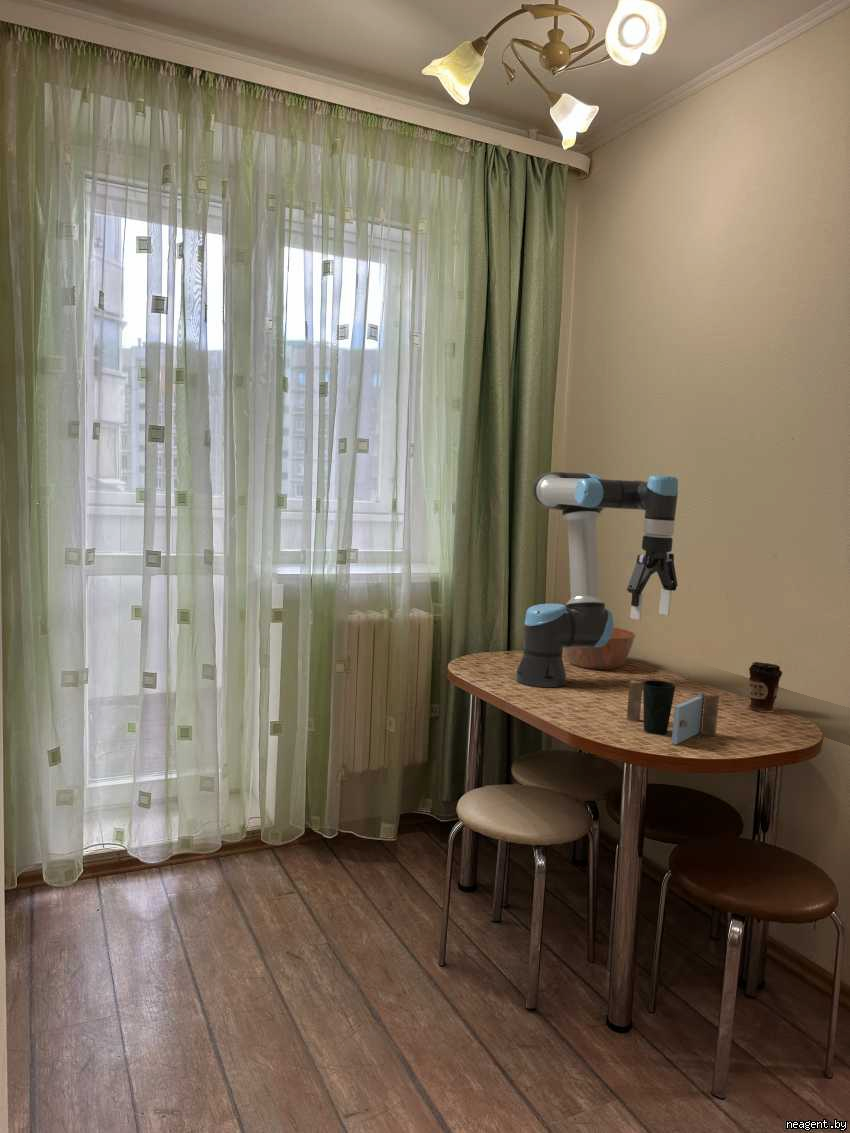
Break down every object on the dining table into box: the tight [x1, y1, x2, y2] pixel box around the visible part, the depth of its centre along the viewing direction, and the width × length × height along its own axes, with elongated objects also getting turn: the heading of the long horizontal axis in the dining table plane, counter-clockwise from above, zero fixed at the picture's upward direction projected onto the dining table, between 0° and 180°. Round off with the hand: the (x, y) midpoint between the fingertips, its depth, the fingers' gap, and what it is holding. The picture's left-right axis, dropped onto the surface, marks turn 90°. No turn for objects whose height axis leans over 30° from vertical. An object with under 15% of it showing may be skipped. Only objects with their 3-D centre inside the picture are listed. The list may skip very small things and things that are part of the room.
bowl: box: [562, 626, 636, 671], centre depth 288 cm, size 25×25×11 cm
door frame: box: [626, 679, 720, 737], centre depth 217 cm, size 22×2×10 cm, turn 59°
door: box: [671, 691, 706, 745], centre depth 208 cm, size 16×2×10 cm, turn 140°
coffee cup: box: [748, 661, 783, 713], centre depth 239 cm, size 9×8×13 cm
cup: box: [642, 679, 676, 736], centre depth 213 cm, size 8×8×12 cm
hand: (649, 616), depth 224 cm, fingers open, 13 cm apart
